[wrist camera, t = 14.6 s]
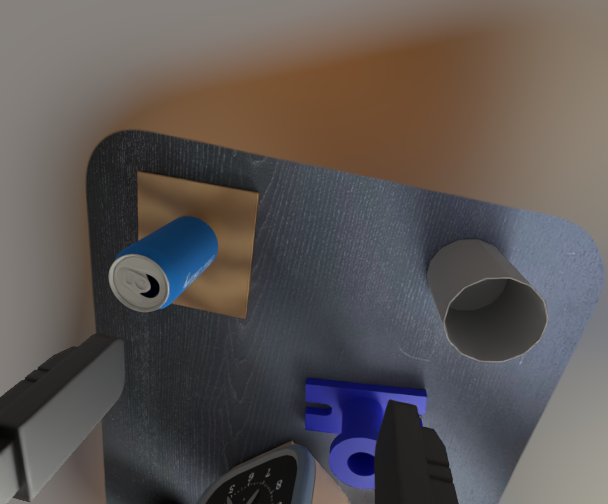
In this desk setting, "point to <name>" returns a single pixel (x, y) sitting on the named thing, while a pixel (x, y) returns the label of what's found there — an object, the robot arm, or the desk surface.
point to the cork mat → (225, 223)
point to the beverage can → (163, 264)
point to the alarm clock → (276, 481)
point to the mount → (354, 423)
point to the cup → (485, 302)
